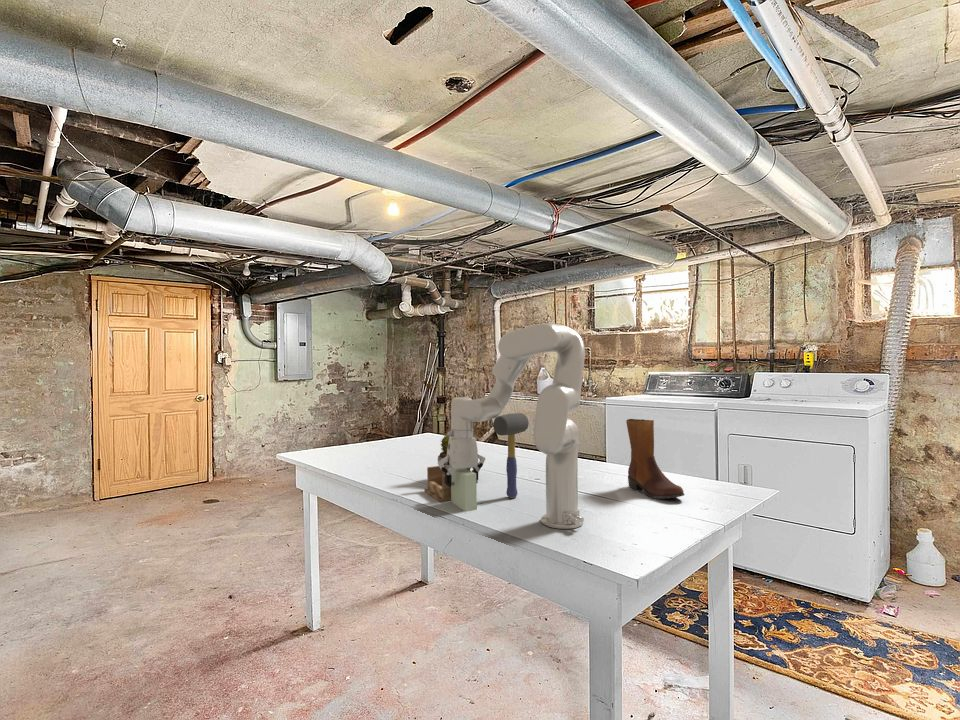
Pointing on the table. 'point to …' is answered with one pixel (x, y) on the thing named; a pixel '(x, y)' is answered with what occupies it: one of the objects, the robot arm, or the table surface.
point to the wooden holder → (438, 484)
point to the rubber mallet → (511, 444)
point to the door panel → (464, 489)
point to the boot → (647, 463)
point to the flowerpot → (445, 449)
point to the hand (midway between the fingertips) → (461, 484)
